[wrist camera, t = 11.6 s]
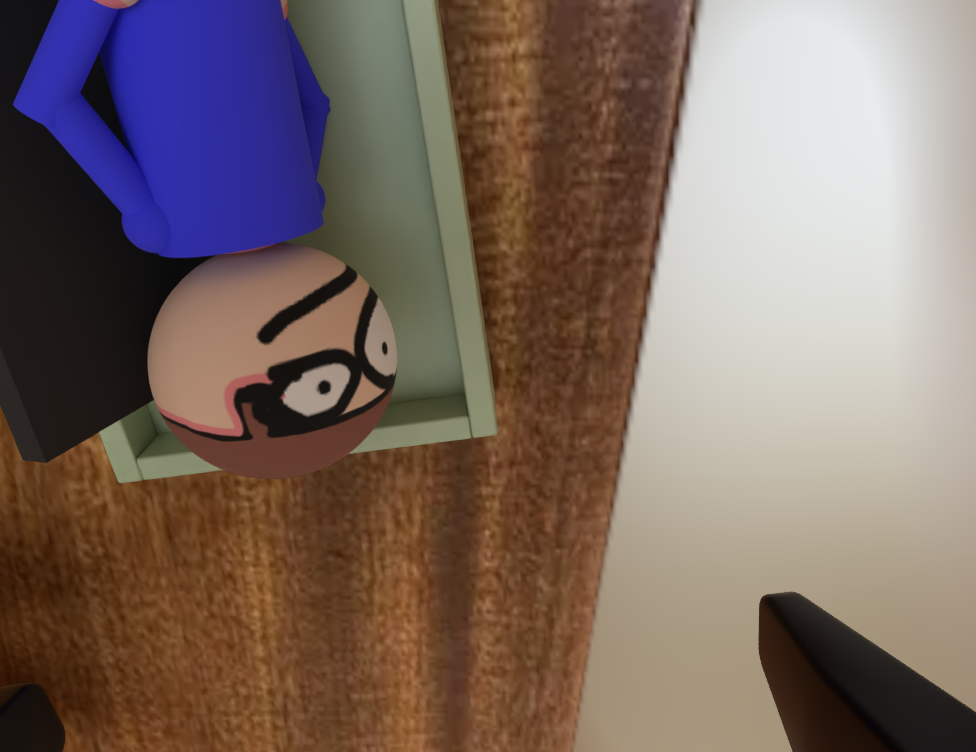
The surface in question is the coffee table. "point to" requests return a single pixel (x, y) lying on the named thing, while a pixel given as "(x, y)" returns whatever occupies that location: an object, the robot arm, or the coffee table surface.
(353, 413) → the character figurine
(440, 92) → the tray
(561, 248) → the coffee table surface
